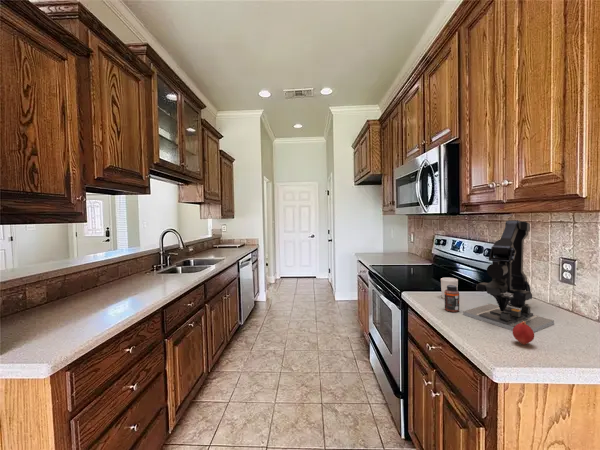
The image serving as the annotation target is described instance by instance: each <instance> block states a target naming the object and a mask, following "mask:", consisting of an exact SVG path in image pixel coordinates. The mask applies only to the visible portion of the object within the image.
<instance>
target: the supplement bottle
mask: <svg viewBox="0 0 600 450" xmlns="http://www.w3.org/2000/svg"><path fill="white" fill-rule="evenodd" d="M444 310H445V311H447V312H451V313H457V312H459V311H460V292H459V290H457V286H455V285H447V290H445V299H444Z"/></svg>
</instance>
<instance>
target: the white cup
mask: <svg viewBox="0 0 600 450" xmlns="http://www.w3.org/2000/svg"><path fill="white" fill-rule="evenodd" d="M447 285H455V286H457V291H459V290H458V285H459V279H457V278H454V277H442V278H440V288H441V289H440V290H441V298H442V299H443V300H445V290H447Z"/></svg>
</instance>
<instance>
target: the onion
mask: <svg viewBox="0 0 600 450" xmlns="http://www.w3.org/2000/svg"><path fill="white" fill-rule="evenodd" d="M512 335H513V337H514V339H515V340H516V341H517V342H519V343H520V344H521V345H523V346H525V345H528V344H530V343H531V342H533V341H534V339H535V332H533V330H532V329H531V328H530V327H529V326H528V325H526V323H525V322H524V321H523V322H522V323H519V324H517V325H516V326H515V327H514V328H513V331H512Z"/></svg>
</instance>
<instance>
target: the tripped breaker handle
mask: <svg viewBox="0 0 600 450" xmlns="http://www.w3.org/2000/svg"><path fill="white" fill-rule="evenodd" d="M512 308H513V309H511V315H512V316H515V317H520V316H521V309H519V310H518V309H517V308H515V309H514V307H512Z"/></svg>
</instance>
